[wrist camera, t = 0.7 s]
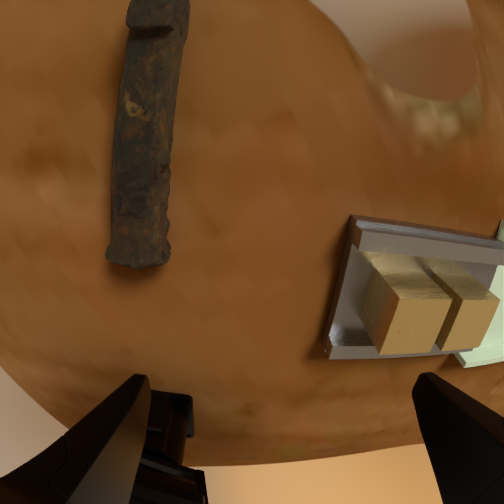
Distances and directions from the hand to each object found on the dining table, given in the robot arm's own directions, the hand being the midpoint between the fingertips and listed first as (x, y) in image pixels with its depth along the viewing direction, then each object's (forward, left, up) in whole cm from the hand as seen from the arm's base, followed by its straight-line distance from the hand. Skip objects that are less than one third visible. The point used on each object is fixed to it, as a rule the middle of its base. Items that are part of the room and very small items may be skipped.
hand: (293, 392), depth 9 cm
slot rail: (-2, -12, -12) cm, 17 cm away
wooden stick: (+9, +8, -13) cm, 17 cm away
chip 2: (-2, -14, -11) cm, 18 cm away
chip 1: (-2, -9, -11) cm, 14 cm away
